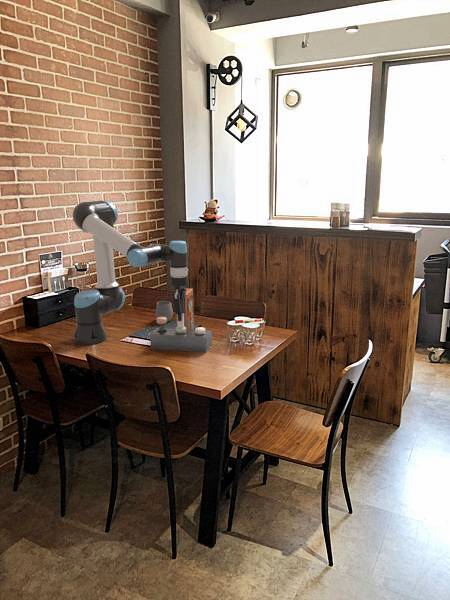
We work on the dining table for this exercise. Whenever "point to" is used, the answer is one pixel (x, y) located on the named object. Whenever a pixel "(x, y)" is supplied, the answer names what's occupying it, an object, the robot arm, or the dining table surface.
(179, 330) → the knob mid
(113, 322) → the dining table surface
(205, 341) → the mount
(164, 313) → the cup
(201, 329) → the knob
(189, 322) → the orange cardboard box
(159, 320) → the knob
